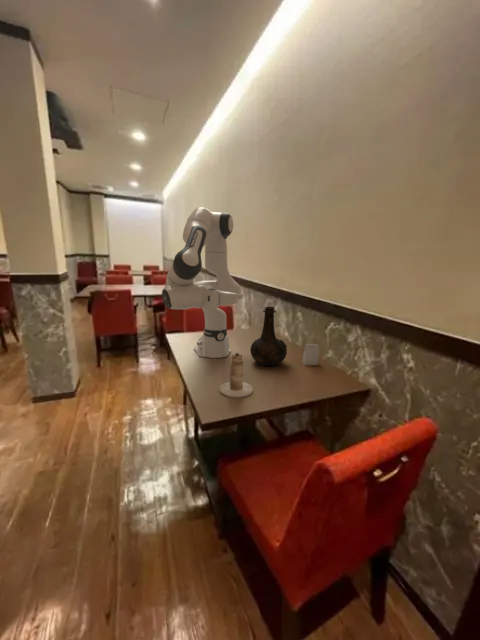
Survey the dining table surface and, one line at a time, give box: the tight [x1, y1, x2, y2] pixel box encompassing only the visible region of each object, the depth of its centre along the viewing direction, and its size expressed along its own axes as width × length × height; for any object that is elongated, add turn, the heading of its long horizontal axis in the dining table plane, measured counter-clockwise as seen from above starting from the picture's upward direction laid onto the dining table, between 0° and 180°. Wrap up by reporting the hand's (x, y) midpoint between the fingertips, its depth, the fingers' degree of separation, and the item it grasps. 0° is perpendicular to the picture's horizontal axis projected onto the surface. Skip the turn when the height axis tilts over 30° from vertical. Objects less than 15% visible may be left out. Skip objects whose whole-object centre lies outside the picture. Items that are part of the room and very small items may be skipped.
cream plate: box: [219, 381, 254, 399], centre depth 121 cm, size 13×13×1 cm
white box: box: [302, 343, 320, 366], centre depth 153 cm, size 4×7×10 cm, turn 96°
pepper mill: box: [229, 352, 244, 391], centre depth 120 cm, size 5×5×14 cm
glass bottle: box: [249, 306, 288, 367], centre depth 151 cm, size 18×18×28 cm
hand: (235, 294), depth 127 cm, fingers open, 8 cm apart
